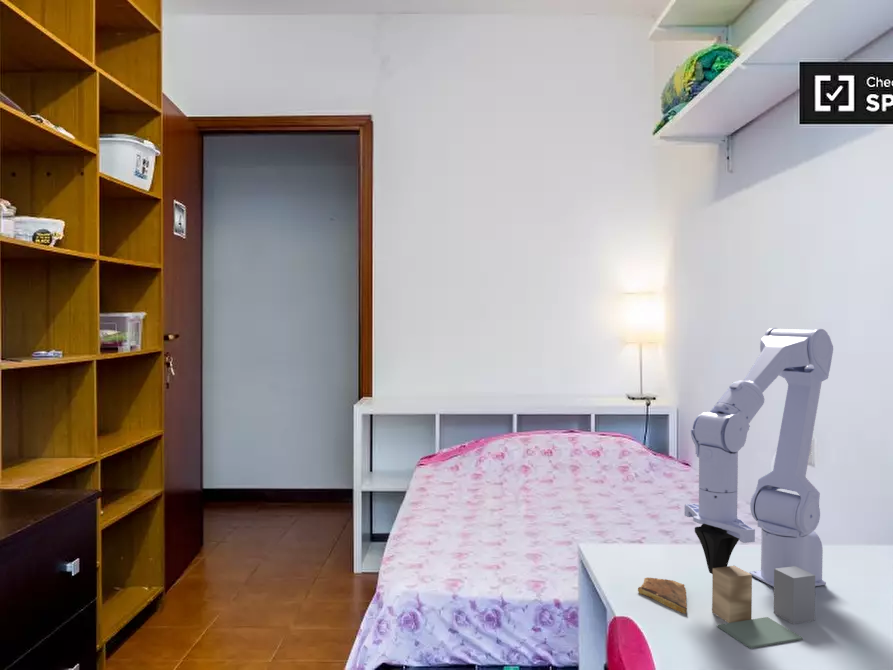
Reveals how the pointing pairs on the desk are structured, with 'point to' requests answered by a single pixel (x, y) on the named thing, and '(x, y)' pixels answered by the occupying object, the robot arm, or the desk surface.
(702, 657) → the desk surface
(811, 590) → the grey block
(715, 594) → the oak block
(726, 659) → the desk surface
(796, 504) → the robot arm
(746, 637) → the mat
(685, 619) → the desk surface
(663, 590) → the shard
